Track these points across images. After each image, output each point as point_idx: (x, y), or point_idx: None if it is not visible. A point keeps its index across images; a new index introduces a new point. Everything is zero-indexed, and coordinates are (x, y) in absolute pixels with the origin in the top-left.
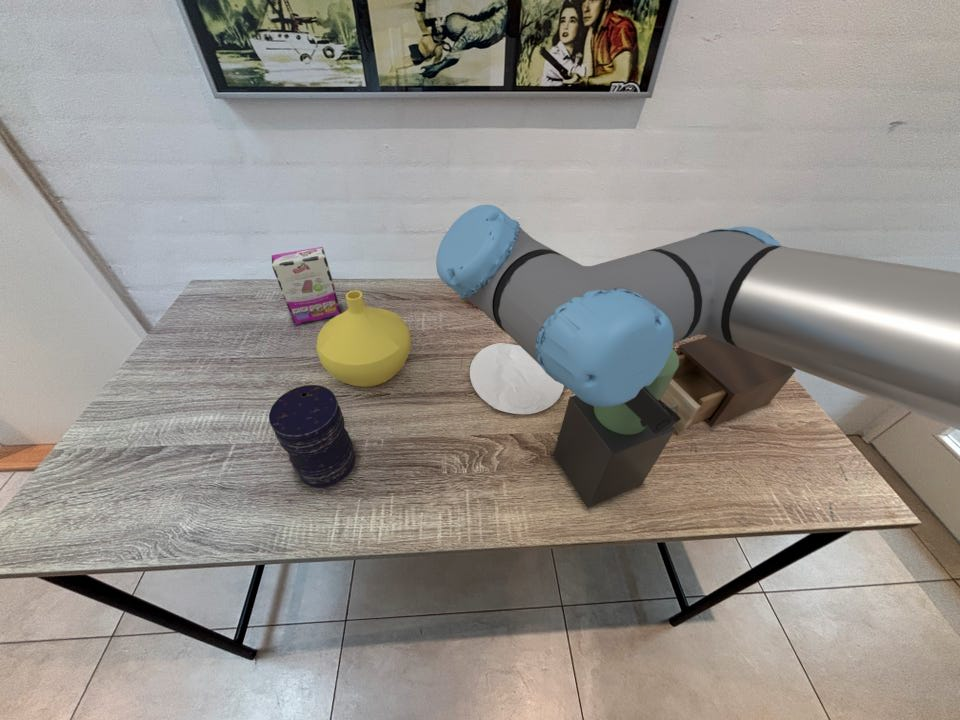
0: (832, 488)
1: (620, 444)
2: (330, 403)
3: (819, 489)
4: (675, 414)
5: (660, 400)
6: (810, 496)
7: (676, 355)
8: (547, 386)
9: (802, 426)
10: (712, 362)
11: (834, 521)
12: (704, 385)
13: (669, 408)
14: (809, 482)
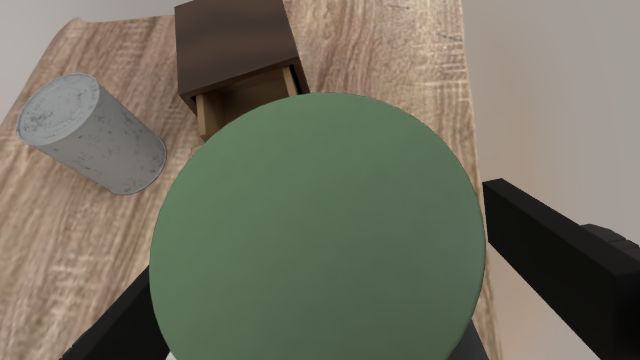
0: (419, 24)
1: (461, 343)
2: None
3: (419, 36)
4: (533, 198)
5: (620, 272)
6: (429, 48)
7: (334, 96)
8: (171, 355)
9: (332, 16)
10: (229, 61)
11: (462, 39)
12: (249, 92)
13: (558, 220)
14: (409, 41)
